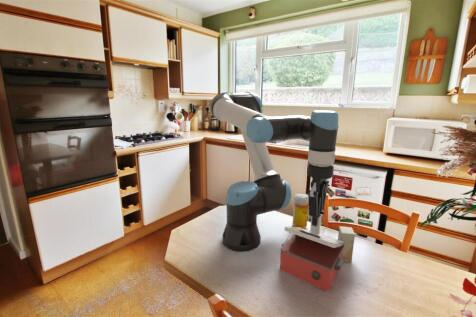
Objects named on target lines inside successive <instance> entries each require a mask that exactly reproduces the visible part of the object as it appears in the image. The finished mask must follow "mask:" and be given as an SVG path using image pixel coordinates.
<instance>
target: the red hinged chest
mask: <svg viewBox="0 0 476 317" xmlns="http://www.w3.org/2000/svg"><path fill="white" fill-rule="evenodd" d="M343 249H344V245H343V246H339V247H336V248H332V247H330V246H327V245H324V244H321V243H318V242H315V241H313V240H310V239H307V238H304V237H301V236H298V235H296V234H292V235H291V236H290V238H286V239H285V240H284V241H283V243H281V247H279V251H280V256H279V257H280V259H279V270H280V271H281V272H284V273H285V274H288V275H290V276H292V277H294V278H297V279H299V280H301V281H304V282H305V283H307V284H309V285H312V286H315V287H317V288H319V289H321V290H323V291H325V292H328V293H329V292H330V290H331V288H332V286H333V283H334V281H335V280H336V278H337V276H338V274H339V272H341V271H340V270H341V269H342V267H343V264H344V262H343V259H342V256H343Z"/></svg>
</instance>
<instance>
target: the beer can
mask: <svg viewBox="0 0 476 317" xmlns="http://www.w3.org/2000/svg"><path fill="white" fill-rule="evenodd" d="M293 198H294V199H293V211H292V227H301V228H304V229H306V228H307V226H308V216H309V199H308V193H305V192H297V193H295V195H294V197H293Z"/></svg>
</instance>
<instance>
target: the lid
mask: <svg viewBox="0 0 476 317" xmlns="http://www.w3.org/2000/svg"><path fill="white" fill-rule="evenodd" d="M284 231H285V232H287V233H291V234H292V235H294V234H296V235H298V236H301V237H304V238H307V239H310V240H313V241H315V242H318V243H321V244H324V245H327V246H330V247H332V248H336V247H339V246H343V244H344V242H343V241H340V240H338V238H337V239H336V238H333V237H331V236H328V235H325V234H321V233H320V234H319V235H316V234H312V233H310V229H306V228H305V229H304V228H301V227H294V226H285V227H284Z"/></svg>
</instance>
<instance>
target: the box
mask: <svg viewBox="0 0 476 317" xmlns="http://www.w3.org/2000/svg"><path fill="white" fill-rule="evenodd" d="M355 238H356V233H355V231H354V229H353V227H351V226H343V225H342V226H341V225H340V226H338V235H337V240H340V241H343V242H344V244H343V245H344V249H343V256H342V259H343V263H350V264H351V263H352V260H353V253H354V246H355V245H354V244H355Z"/></svg>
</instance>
